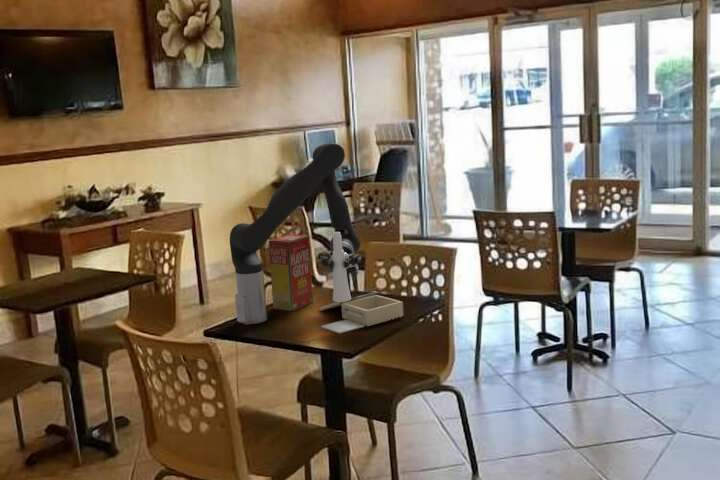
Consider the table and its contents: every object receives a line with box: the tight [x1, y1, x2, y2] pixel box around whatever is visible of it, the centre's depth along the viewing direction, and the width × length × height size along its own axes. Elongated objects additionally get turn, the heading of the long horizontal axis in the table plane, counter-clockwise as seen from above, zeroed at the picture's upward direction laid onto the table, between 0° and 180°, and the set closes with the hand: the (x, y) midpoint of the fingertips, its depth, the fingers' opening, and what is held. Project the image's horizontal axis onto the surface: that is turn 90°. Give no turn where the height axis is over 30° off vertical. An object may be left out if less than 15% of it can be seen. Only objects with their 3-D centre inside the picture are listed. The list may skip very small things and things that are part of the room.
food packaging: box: [268, 233, 314, 312], centre depth 278 cm, size 13×9×25 cm
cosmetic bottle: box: [332, 231, 352, 302], centre depth 247 cm, size 6×6×22 cm
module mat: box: [320, 319, 366, 334], centre depth 251 cm, size 10×10×1 cm
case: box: [341, 292, 404, 327], centre depth 259 cm, size 16×15×6 cm
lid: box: [319, 292, 374, 311], centre depth 271 cm, size 15×13×1 cm
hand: (338, 265), depth 244 cm, fingers closed on cosmetic bottle, 4 cm apart
